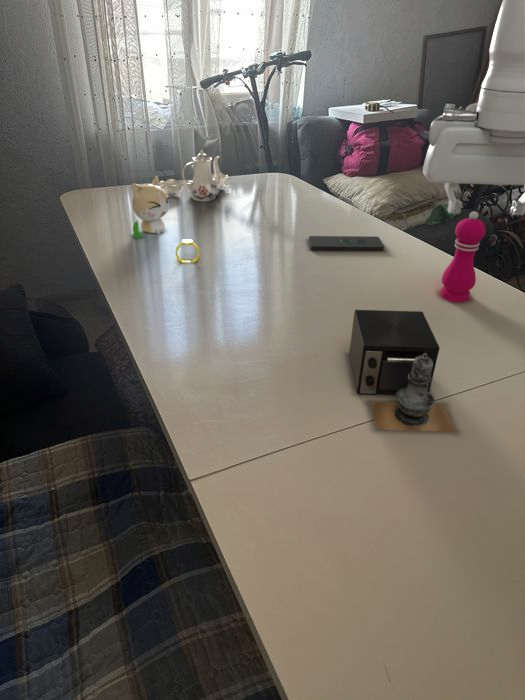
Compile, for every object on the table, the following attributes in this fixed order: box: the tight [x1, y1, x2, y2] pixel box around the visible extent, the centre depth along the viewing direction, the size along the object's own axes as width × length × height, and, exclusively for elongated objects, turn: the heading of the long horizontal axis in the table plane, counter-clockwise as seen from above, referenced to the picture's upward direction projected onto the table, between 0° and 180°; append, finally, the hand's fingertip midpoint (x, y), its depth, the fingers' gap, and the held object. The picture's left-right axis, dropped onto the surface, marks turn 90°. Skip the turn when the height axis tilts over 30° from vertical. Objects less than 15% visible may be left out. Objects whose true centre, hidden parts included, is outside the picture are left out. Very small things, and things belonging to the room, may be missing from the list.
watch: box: [175, 238, 200, 264], centre depth 131 cm, size 6×3×6 cm, turn 98°
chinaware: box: [159, 149, 232, 202], centre depth 178 cm, size 28×17×17 cm, turn 130°
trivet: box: [370, 401, 456, 433], centre depth 82 cm, size 12×7×1 cm, turn 88°
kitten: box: [131, 175, 170, 239], centre depth 147 cm, size 15×10×15 cm
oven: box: [348, 309, 441, 396], centre depth 88 cm, size 12×14×10 cm
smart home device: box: [308, 235, 385, 252], centre depth 143 cm, size 8×2×20 cm
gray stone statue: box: [395, 353, 436, 427], centre depth 78 cm, size 6×6×12 cm
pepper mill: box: [440, 211, 486, 303], centre depth 112 cm, size 7×7×20 cm
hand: (484, 213), depth 77 cm, fingers open, 8 cm apart
